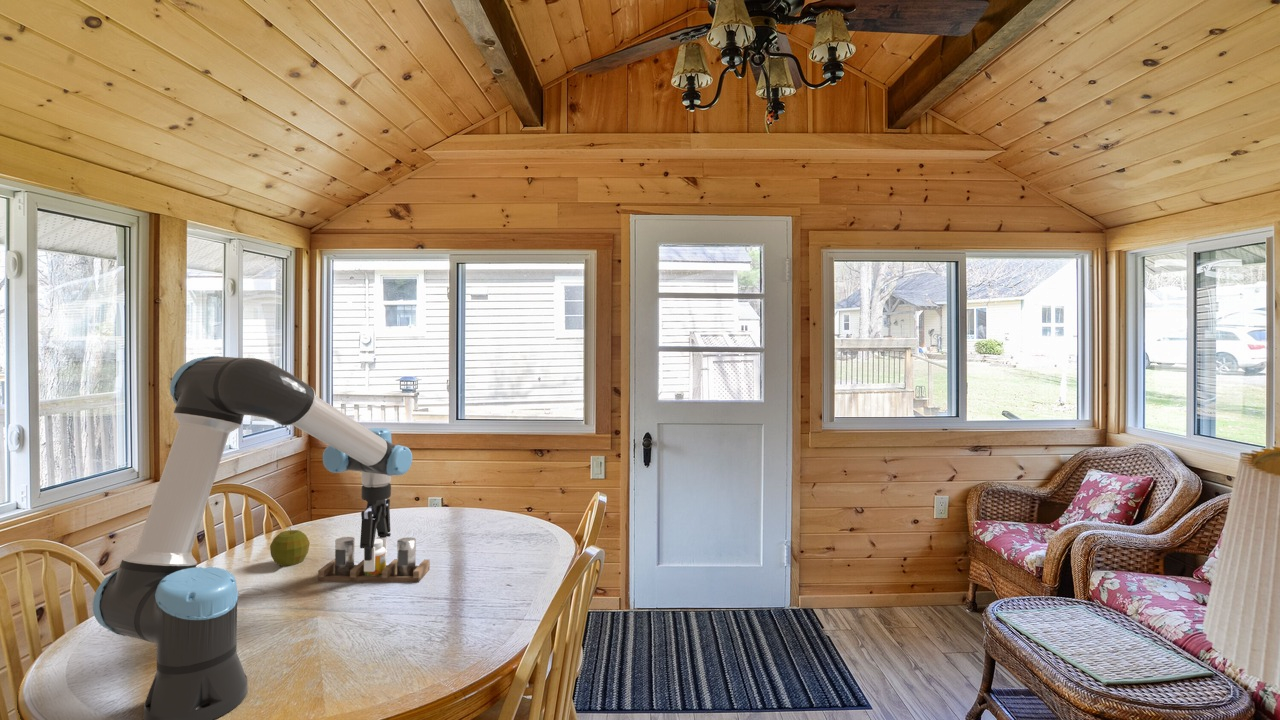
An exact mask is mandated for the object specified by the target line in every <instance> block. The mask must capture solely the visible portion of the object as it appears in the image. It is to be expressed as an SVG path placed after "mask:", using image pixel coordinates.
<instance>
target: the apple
mask: <svg viewBox="0 0 1280 720" xmlns="http://www.w3.org/2000/svg"><path fill="white" fill-rule="evenodd" d="M310 543H311V542H310V540H309V538H308V535H307V534H305V533H304V532H302V531H301V530H298V529H291V528H289V530H284V531H280V533H278V534H277V535H276V536H275V537H274V538H273V539H272V541H271V544H270V545H269V549H270V557H271V558H272V559H273V562H274V563H275V564H276V565H278V566H281V567H285V566H286V567H287V566H288V567H289V566H294V565H297V564H300V563H301V562H303V561H304V560H305V559H306V557H307V555H308V553H309V550H310V549H309V548H310Z"/></svg>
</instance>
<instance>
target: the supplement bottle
mask: <svg viewBox="0 0 1280 720" xmlns="http://www.w3.org/2000/svg"><path fill="white" fill-rule="evenodd" d="M382 546H383V540H382V539H376V538H375V541H374V547H375V571H374V572H365V576H382V570H383V569H384V568H386V565H387V560H386V549H385V548H384V547H382Z"/></svg>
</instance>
